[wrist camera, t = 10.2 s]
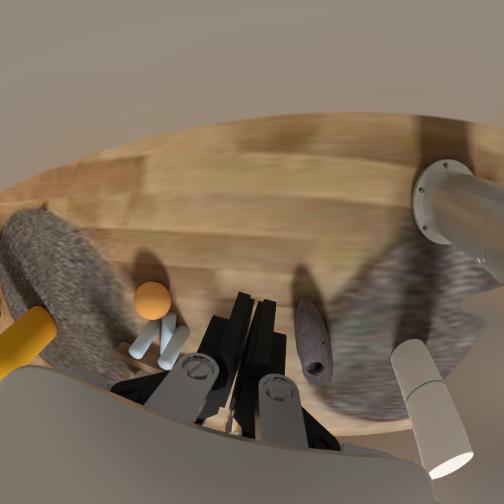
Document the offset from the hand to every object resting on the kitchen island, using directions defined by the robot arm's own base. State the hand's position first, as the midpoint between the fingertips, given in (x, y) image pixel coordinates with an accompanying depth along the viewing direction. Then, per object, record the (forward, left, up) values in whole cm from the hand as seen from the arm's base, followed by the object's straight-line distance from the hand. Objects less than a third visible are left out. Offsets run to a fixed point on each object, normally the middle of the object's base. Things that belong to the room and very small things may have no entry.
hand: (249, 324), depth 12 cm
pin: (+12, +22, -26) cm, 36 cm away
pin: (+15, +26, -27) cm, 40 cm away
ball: (+15, +19, -24) cm, 34 cm away
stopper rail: (+12, +35, -27) cm, 46 cm away
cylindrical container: (-31, +19, -27) cm, 45 cm away
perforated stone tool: (-11, +18, -27) cm, 35 cm away
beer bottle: (+46, +40, -27) cm, 67 cm away
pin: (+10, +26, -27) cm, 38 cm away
